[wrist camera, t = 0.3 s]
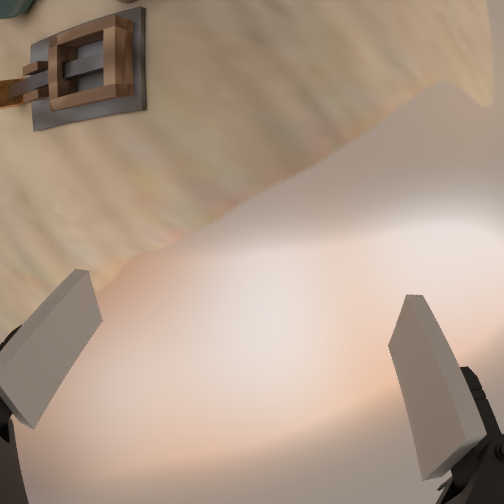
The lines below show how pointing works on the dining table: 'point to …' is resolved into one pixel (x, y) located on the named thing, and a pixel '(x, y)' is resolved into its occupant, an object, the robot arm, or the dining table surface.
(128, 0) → the grey metal cylinder
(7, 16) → the flower pot
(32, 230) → the dining table surface
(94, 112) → the dock
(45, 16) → the dining table surface
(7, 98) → the lock pin
